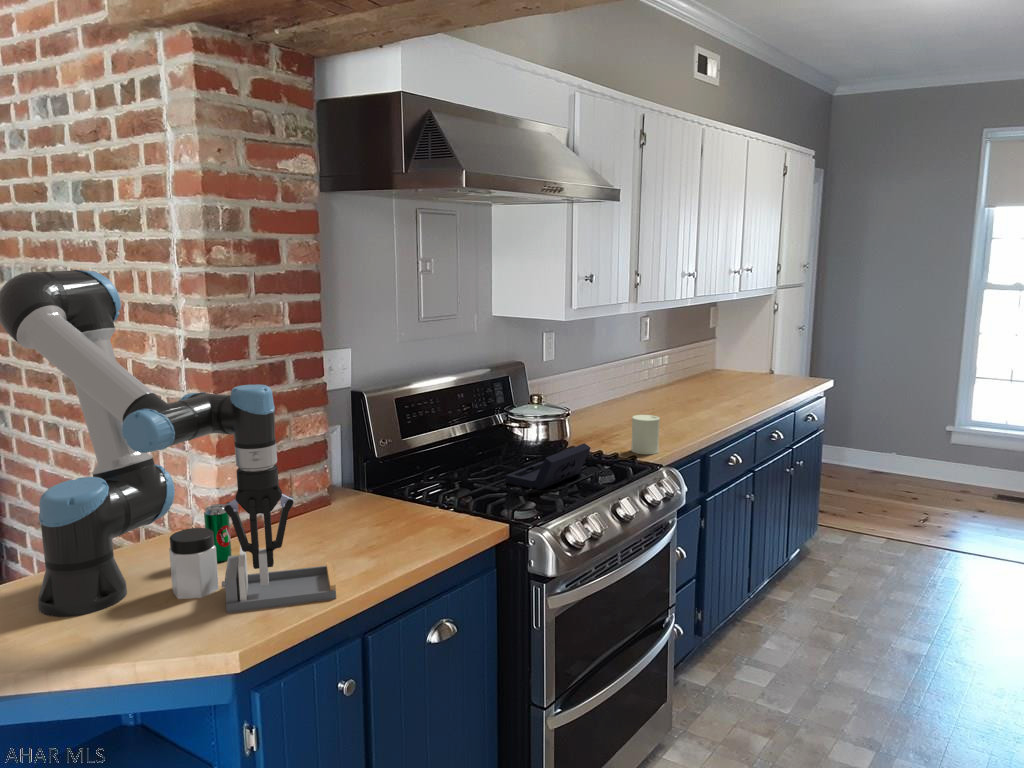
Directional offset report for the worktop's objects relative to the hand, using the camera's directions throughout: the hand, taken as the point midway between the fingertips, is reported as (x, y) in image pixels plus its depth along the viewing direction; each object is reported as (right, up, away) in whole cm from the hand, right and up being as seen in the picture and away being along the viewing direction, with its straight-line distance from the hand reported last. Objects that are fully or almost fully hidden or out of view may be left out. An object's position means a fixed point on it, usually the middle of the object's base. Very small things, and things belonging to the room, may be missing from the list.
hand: (264, 582), depth 155 cm
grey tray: (+3, -3, +2) cm, 4 cm away
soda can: (-16, 0, +19) cm, 25 cm away
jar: (-15, -3, +3) cm, 15 cm away
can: (+93, +16, +111) cm, 146 cm away
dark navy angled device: (+59, +10, +79) cm, 99 cm away
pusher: (-5, -2, -1) cm, 6 cm away
